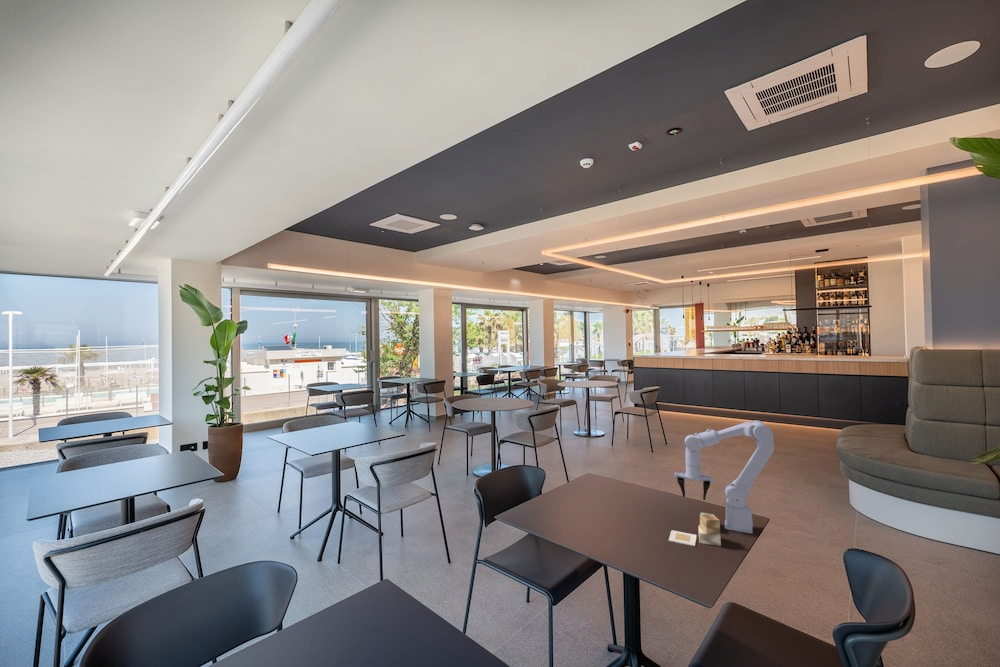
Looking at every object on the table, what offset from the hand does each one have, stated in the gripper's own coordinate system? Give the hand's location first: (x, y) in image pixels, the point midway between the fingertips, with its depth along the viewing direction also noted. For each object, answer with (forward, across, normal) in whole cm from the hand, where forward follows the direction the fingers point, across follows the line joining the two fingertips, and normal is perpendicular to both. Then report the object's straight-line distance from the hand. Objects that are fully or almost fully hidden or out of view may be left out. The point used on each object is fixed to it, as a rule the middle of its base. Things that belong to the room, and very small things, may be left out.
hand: (694, 497), depth 171 cm
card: (+10, +3, +18) cm, 21 cm away
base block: (+10, -6, +15) cm, 19 cm away
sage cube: (+10, -5, +4) cm, 12 cm away
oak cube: (+6, -6, +15) cm, 17 cm away
